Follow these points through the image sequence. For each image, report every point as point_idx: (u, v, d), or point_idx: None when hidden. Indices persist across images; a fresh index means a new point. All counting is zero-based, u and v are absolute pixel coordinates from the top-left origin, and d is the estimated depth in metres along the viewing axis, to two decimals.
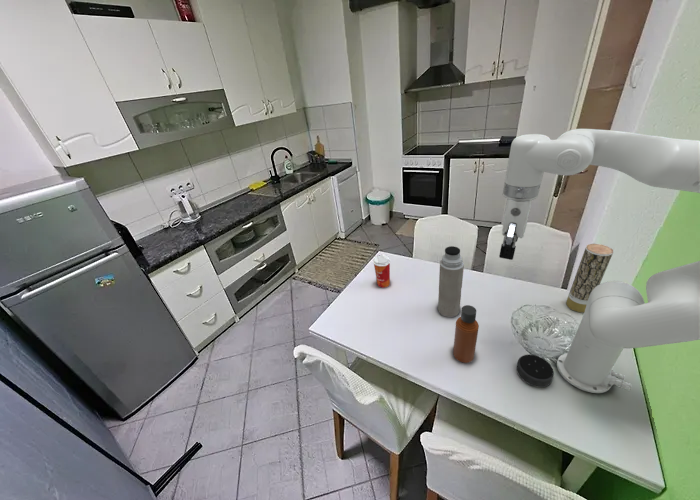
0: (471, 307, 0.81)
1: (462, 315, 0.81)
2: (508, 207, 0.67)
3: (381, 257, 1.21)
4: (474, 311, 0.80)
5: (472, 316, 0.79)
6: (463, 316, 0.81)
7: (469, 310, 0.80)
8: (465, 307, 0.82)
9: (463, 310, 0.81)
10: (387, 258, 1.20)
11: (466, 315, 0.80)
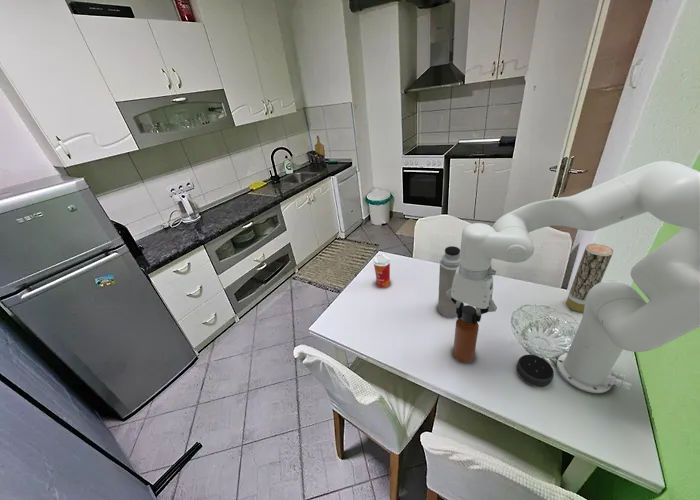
0: (471, 307, 0.81)
1: (462, 315, 0.81)
2: (487, 286, 0.71)
3: (381, 257, 1.21)
4: (474, 311, 0.80)
5: (472, 316, 0.79)
6: (463, 316, 0.81)
7: (469, 310, 0.80)
8: (465, 307, 0.82)
9: (463, 310, 0.81)
10: (387, 258, 1.20)
11: (466, 315, 0.80)
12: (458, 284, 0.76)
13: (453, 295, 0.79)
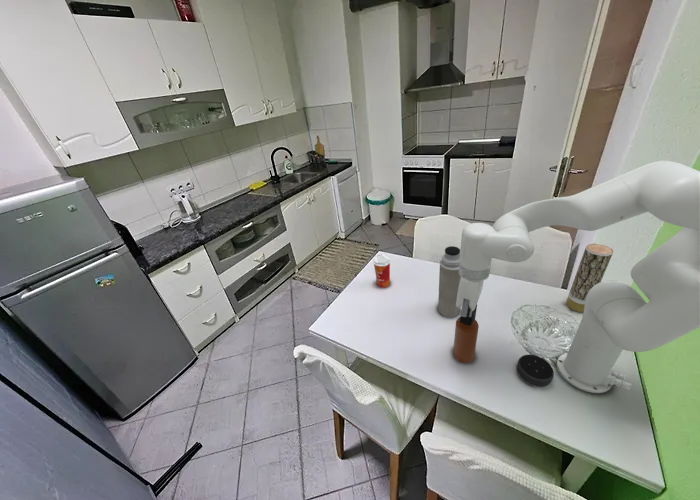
0: None
1: None
2: None
3: (381, 257, 1.21)
4: None
5: None
6: (474, 317, 0.80)
7: (469, 309, 0.81)
8: None
9: None
10: (387, 258, 1.20)
11: (475, 312, 0.80)
12: (478, 291, 0.72)
13: (474, 307, 0.74)
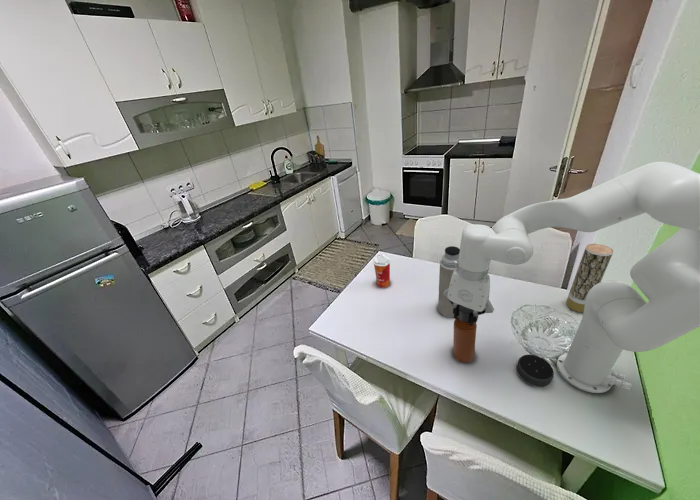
0: (463, 311, 0.80)
1: None
2: None
3: (381, 257, 1.21)
4: (460, 307, 0.82)
5: None
6: None
7: (465, 308, 0.81)
8: (469, 311, 0.80)
9: None
10: (387, 258, 1.20)
11: None
12: None
13: None
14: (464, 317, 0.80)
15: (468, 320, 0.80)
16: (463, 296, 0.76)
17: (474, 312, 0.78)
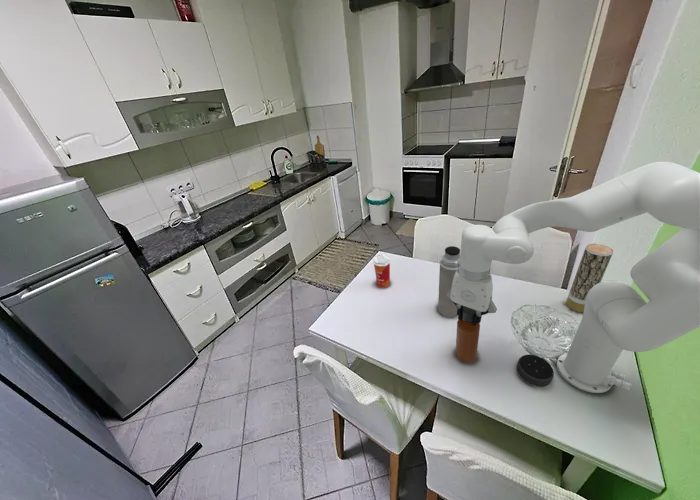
0: (467, 311, 0.80)
1: None
2: None
3: (381, 257, 1.21)
4: (464, 307, 0.81)
5: None
6: None
7: (469, 308, 0.81)
8: (473, 311, 0.79)
9: None
10: (387, 258, 1.20)
11: None
12: None
13: None
14: (468, 317, 0.80)
15: (472, 320, 0.80)
16: (466, 297, 0.76)
17: (477, 312, 0.78)
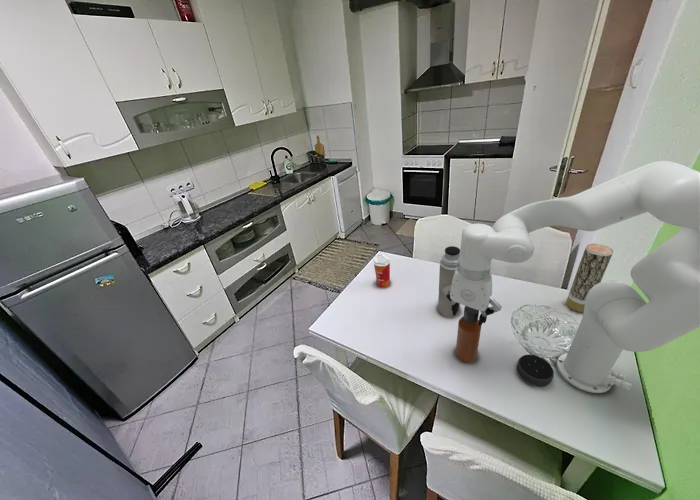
0: (469, 311, 0.80)
1: None
2: None
3: (381, 257, 1.21)
4: (466, 307, 0.81)
5: None
6: None
7: (471, 308, 0.81)
8: (475, 311, 0.79)
9: None
10: (387, 258, 1.20)
11: None
12: None
13: None
14: (470, 317, 0.80)
15: (473, 320, 0.80)
16: (465, 296, 0.76)
17: (482, 312, 0.76)
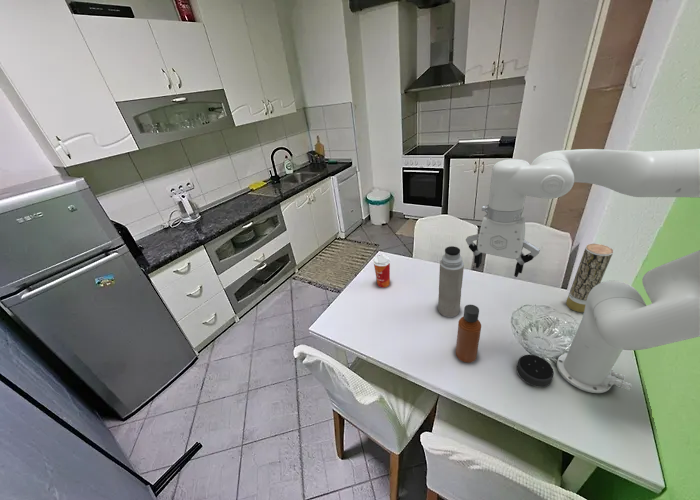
0: (469, 311, 0.80)
1: None
2: None
3: (381, 257, 1.21)
4: (466, 307, 0.81)
5: None
6: None
7: (471, 308, 0.81)
8: (475, 311, 0.79)
9: (477, 308, 0.80)
10: (387, 258, 1.20)
11: None
12: None
13: None
14: (470, 317, 0.80)
15: (473, 320, 0.80)
16: (496, 244, 0.70)
17: (518, 260, 0.70)
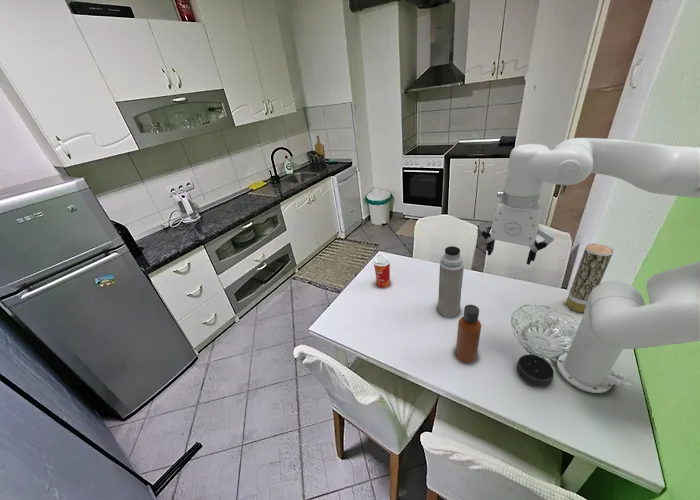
0: (469, 311, 0.80)
1: None
2: None
3: (381, 257, 1.21)
4: (466, 307, 0.81)
5: None
6: None
7: (471, 308, 0.81)
8: (475, 311, 0.79)
9: (477, 308, 0.80)
10: (387, 258, 1.20)
11: None
12: None
13: None
14: (470, 317, 0.80)
15: (473, 320, 0.80)
16: (510, 230, 0.70)
17: (532, 248, 0.70)
